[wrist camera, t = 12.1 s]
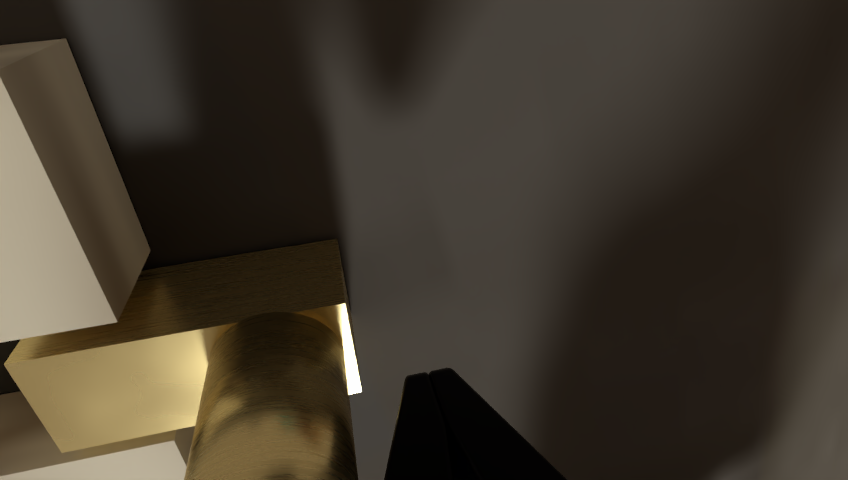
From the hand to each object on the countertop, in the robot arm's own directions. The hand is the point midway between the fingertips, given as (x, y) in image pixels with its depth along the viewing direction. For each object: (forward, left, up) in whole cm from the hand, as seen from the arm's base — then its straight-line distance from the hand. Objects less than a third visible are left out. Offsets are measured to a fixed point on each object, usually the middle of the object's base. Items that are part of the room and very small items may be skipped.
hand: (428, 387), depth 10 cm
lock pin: (+4, 0, -4) cm, 6 cm away
